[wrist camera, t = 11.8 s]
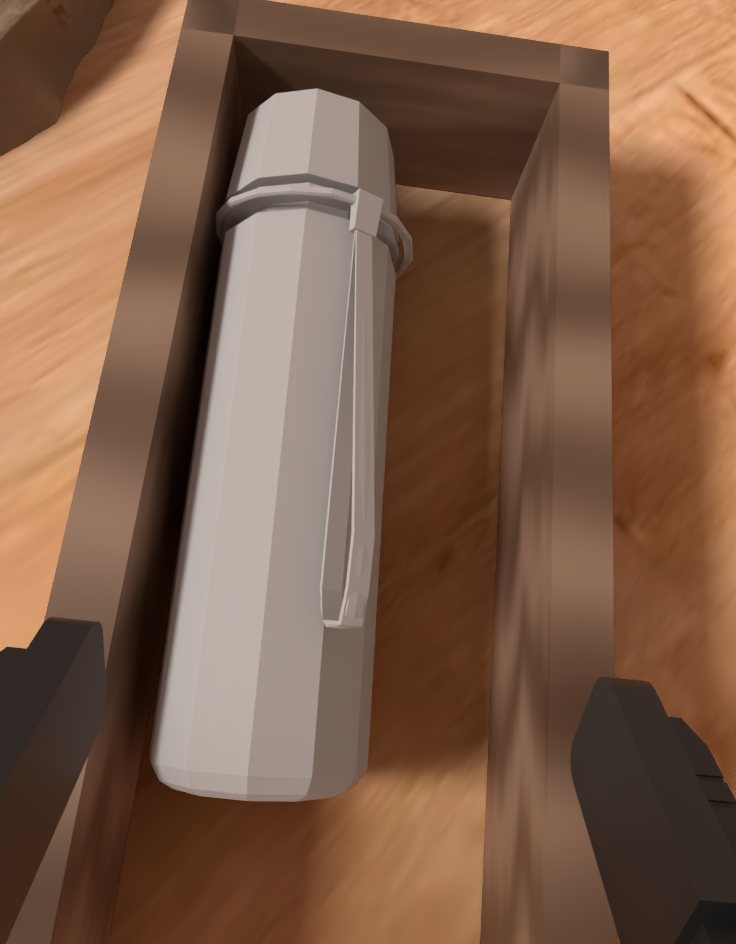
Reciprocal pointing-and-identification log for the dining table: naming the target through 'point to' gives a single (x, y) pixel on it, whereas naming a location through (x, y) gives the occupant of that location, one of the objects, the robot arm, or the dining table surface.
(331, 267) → the water bottle
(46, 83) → the food dish
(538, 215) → the bottle rest
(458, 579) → the dining table surface
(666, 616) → the dining table surface
